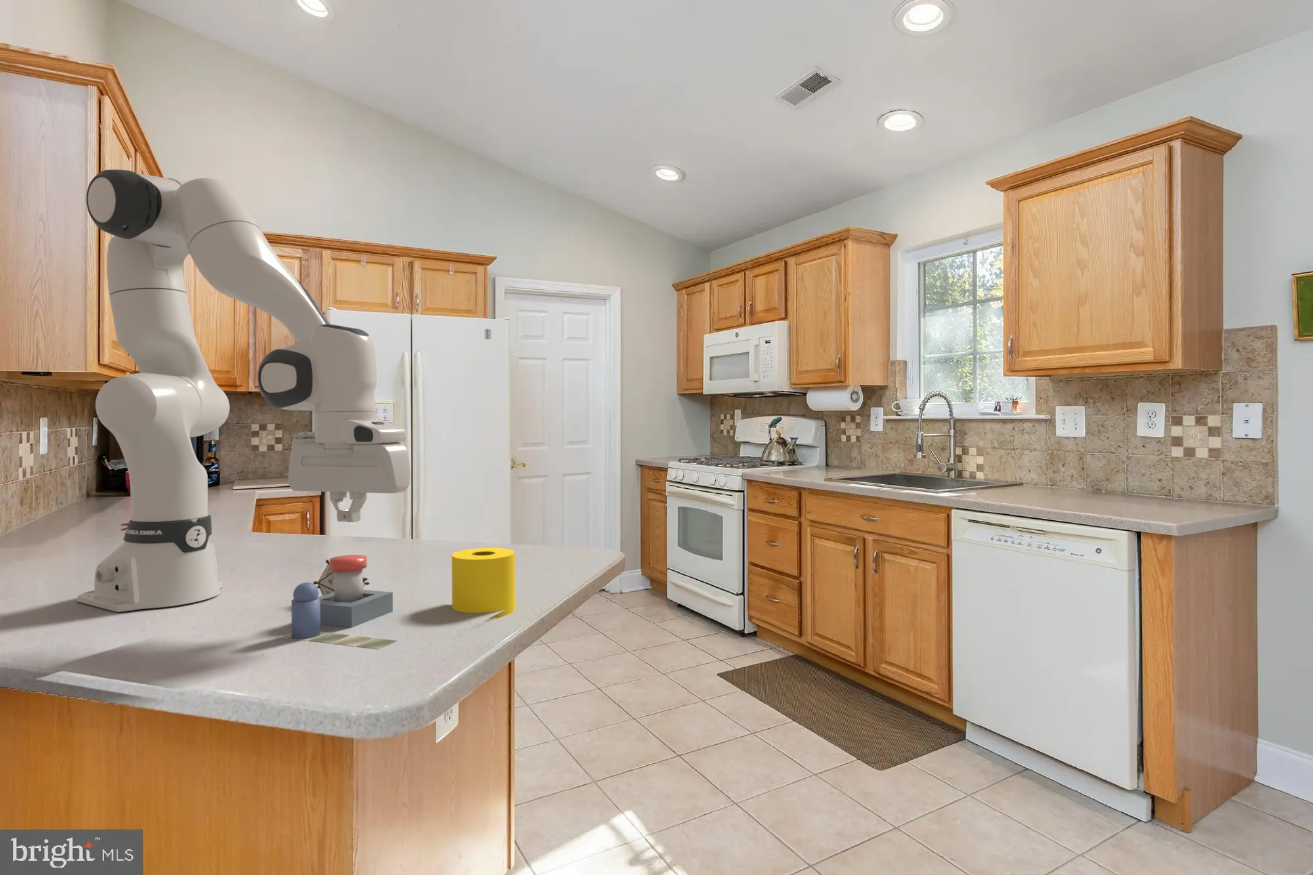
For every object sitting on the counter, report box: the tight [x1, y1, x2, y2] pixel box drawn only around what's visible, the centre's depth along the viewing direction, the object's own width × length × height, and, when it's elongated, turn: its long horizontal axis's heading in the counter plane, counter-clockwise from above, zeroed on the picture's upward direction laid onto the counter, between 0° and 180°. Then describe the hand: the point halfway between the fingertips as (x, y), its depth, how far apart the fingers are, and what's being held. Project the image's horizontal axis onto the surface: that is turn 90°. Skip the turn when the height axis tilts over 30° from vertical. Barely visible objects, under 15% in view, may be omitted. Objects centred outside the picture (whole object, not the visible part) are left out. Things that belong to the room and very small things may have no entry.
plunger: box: [329, 554, 368, 603], centre depth 108 cm, size 5×5×7 cm
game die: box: [312, 559, 371, 596], centre depth 118 cm, size 9×8×10 cm
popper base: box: [318, 589, 394, 629], centre depth 108 cm, size 9×9×4 cm
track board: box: [285, 631, 397, 650], centre depth 97 cm, size 16×8×1 cm, turn 72°
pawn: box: [291, 581, 321, 640], centre depth 99 cm, size 4×4×7 cm
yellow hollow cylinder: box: [451, 547, 516, 619], centre depth 115 cm, size 10×10×9 cm
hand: (348, 521), depth 108 cm, fingers closed
